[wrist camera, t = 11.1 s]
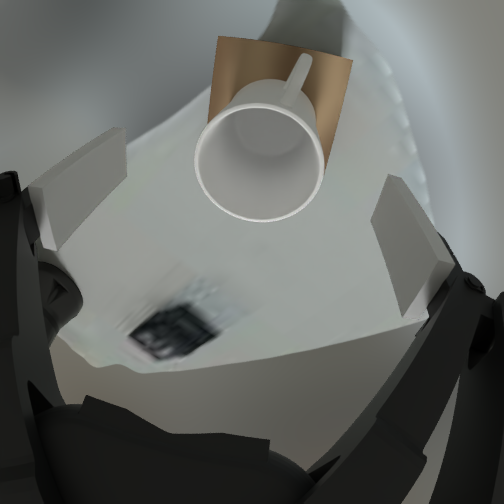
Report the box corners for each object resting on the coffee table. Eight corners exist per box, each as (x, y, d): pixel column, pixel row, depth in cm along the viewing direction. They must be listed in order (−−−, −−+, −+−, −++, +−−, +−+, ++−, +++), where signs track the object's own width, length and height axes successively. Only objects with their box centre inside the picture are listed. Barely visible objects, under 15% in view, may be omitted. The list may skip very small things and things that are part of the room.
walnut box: (217, 137, 35) (204, 153, 31) (230, 37, 28) (218, 35, 23) (319, 156, 35) (323, 176, 30) (342, 58, 27) (352, 60, 23)
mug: (269, 34, 22) (254, 25, 13) (351, 82, 24) (387, 105, 15) (212, 136, 29) (171, 189, 20) (286, 175, 31) (282, 245, 22)
